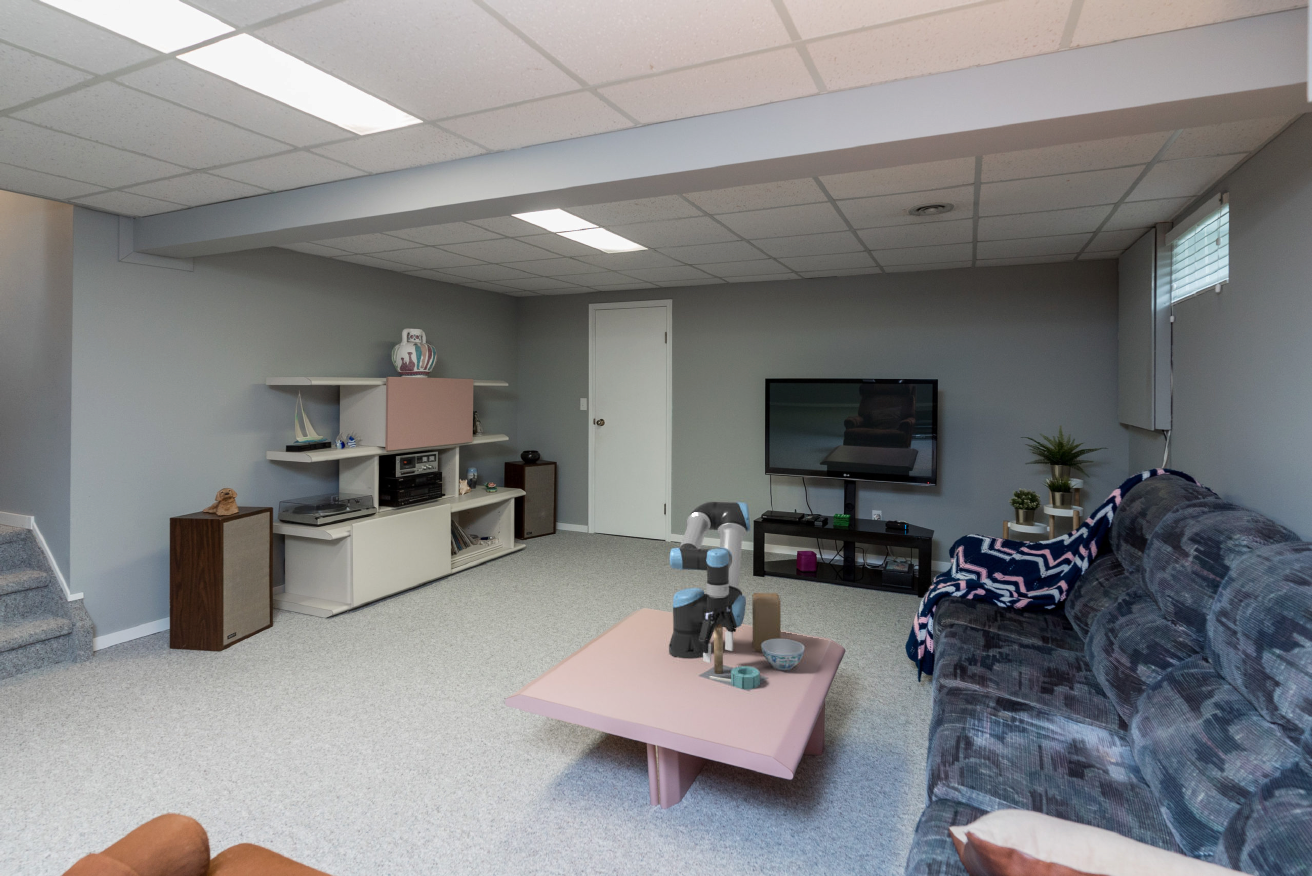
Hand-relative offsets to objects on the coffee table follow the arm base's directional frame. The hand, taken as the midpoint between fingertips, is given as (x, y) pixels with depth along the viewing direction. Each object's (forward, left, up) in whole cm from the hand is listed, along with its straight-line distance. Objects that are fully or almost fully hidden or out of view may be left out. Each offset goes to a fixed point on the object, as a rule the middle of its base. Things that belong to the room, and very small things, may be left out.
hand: (718, 655), depth 236 cm
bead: (+12, -2, -6) cm, 13 cm away
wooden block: (+1, +31, -7) cm, 32 cm away
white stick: (+4, -4, -6) cm, 8 cm away
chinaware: (+15, +18, -7) cm, 24 cm away
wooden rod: (0, 0, -6) cm, 6 cm away
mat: (+6, 0, -6) cm, 9 cm away
